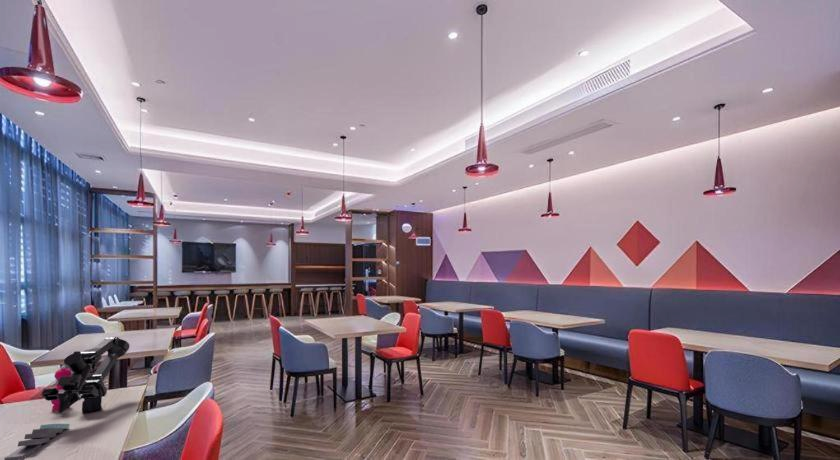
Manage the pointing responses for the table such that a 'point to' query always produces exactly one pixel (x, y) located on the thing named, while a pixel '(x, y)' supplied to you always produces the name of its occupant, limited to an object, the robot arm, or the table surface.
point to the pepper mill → (60, 373)
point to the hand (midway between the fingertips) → (60, 412)
